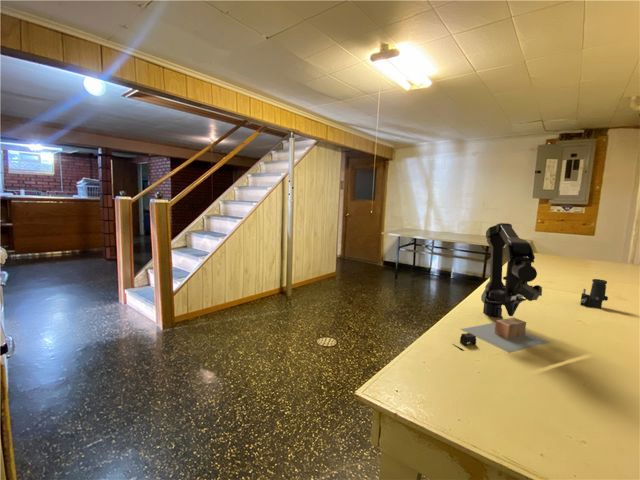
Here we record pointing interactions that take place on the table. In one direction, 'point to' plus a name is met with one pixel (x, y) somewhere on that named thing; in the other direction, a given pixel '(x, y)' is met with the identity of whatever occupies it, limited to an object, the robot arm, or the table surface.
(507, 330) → the walnut post
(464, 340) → the black mounting bracket
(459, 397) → the table surface
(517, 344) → the slate mat
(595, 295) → the scope
